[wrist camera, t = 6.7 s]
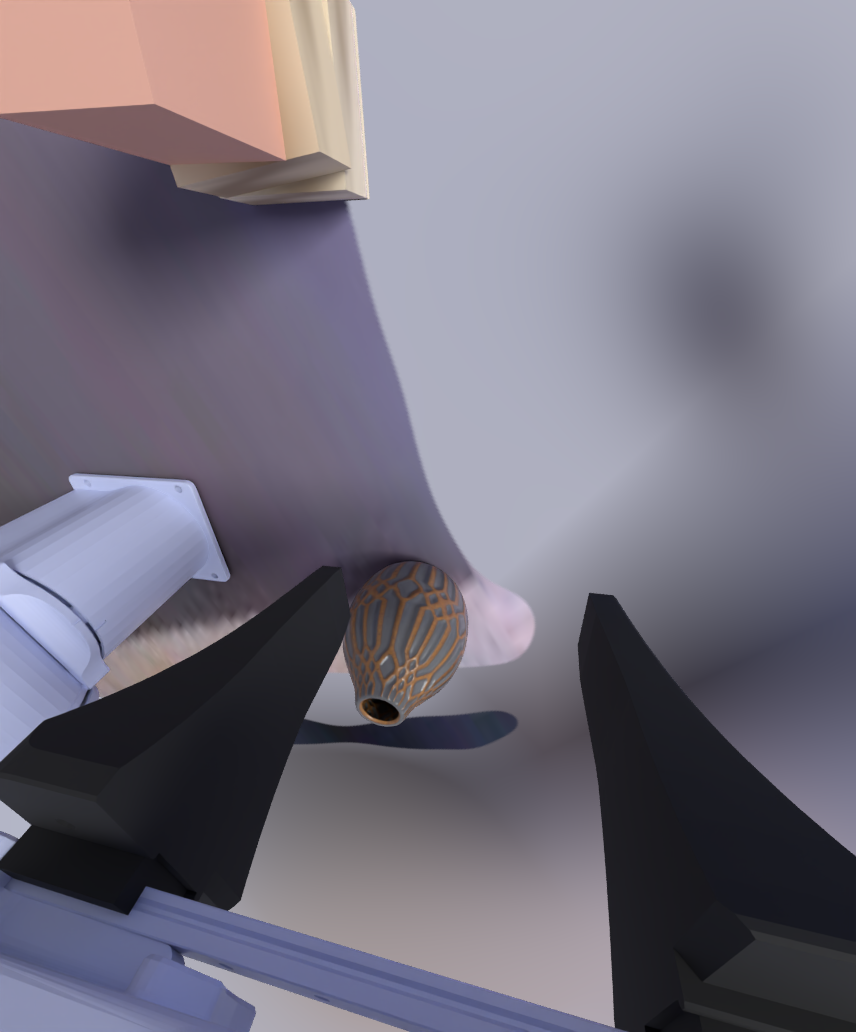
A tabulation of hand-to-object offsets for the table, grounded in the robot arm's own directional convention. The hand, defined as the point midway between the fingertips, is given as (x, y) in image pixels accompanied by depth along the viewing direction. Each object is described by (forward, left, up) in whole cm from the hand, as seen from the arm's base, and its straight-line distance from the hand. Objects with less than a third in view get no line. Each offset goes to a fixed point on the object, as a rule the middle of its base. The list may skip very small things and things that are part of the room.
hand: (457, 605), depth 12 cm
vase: (-4, -9, -11) cm, 14 cm away
